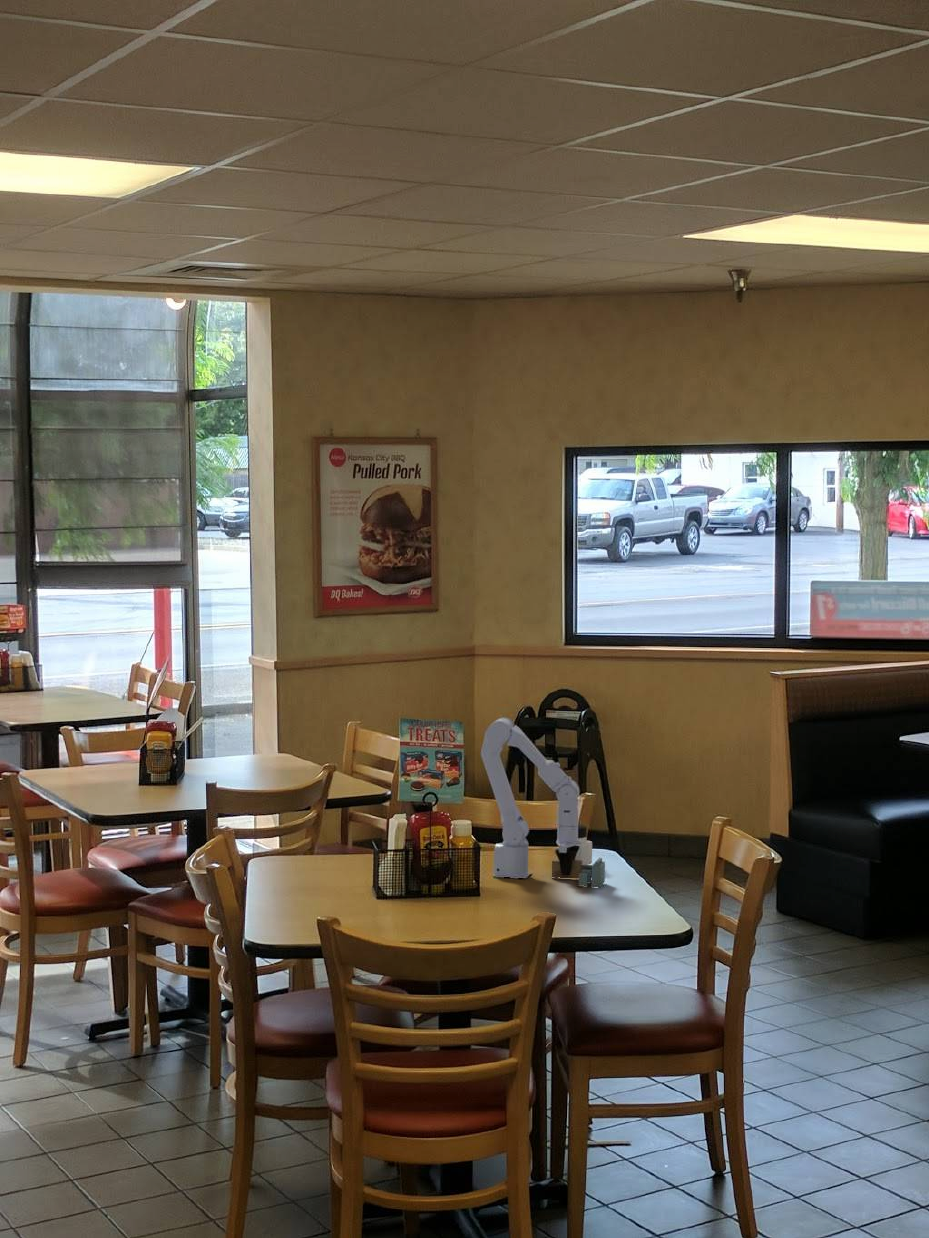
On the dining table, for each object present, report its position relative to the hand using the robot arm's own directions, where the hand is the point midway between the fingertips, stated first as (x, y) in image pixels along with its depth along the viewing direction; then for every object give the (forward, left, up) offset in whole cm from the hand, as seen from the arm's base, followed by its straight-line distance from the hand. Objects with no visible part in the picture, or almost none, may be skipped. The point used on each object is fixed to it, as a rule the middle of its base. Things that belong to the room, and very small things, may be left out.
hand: (567, 873), depth 404 cm
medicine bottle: (-1, +16, -2) cm, 16 cm away
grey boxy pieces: (+8, -6, -1) cm, 10 cm away
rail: (+2, 0, -1) cm, 2 cm away
